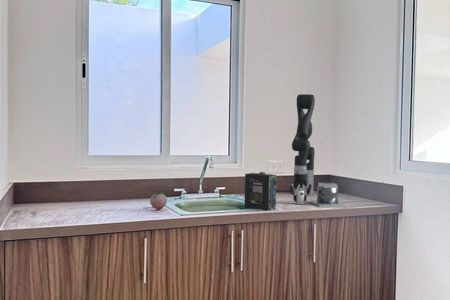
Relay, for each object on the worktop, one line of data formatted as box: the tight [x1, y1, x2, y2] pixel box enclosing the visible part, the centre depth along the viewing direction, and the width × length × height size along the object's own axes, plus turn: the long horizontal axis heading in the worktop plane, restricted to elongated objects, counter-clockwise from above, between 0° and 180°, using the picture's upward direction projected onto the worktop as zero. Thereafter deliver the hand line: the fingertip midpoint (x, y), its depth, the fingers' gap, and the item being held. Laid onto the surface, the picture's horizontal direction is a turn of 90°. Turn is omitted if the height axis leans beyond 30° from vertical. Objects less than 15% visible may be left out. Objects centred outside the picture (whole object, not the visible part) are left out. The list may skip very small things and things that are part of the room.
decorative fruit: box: [149, 191, 168, 211], centre depth 202 cm, size 9×8×10 cm
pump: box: [295, 188, 305, 205], centre depth 226 cm, size 7×5×10 cm
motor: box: [309, 182, 347, 208], centre depth 226 cm, size 16×16×12 cm
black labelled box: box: [242, 171, 278, 211], centre depth 211 cm, size 8×18×20 cm, turn 53°
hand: (299, 201), depth 227 cm, fingers closed on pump, 5 cm apart
